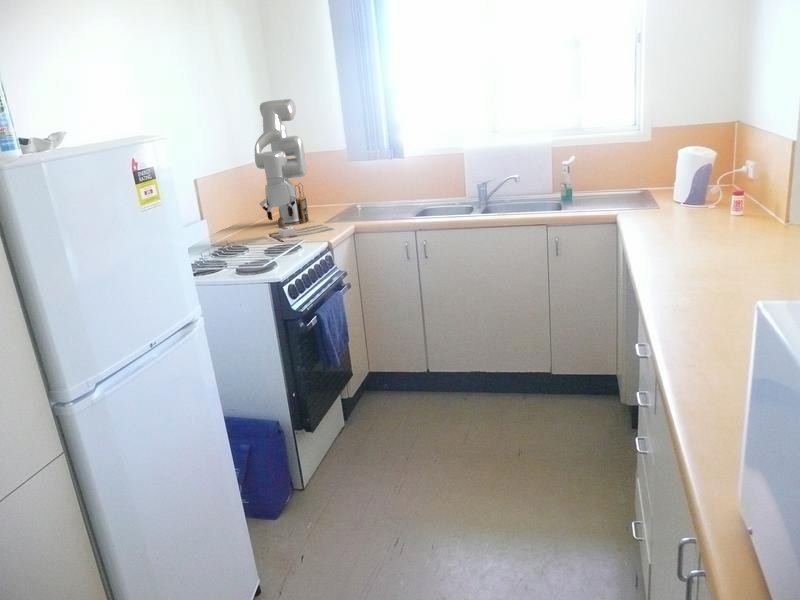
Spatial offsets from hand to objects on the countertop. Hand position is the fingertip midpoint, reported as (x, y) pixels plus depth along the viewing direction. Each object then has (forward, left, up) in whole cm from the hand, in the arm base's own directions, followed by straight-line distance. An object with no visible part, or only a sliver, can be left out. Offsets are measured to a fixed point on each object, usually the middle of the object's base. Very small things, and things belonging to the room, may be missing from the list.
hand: (280, 217), depth 308 cm
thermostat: (+9, -1, -7) cm, 11 cm away
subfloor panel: (+8, +7, -8) cm, 13 cm away
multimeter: (-15, +20, -8) cm, 26 cm away
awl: (+1, 0, -7) cm, 7 cm away
